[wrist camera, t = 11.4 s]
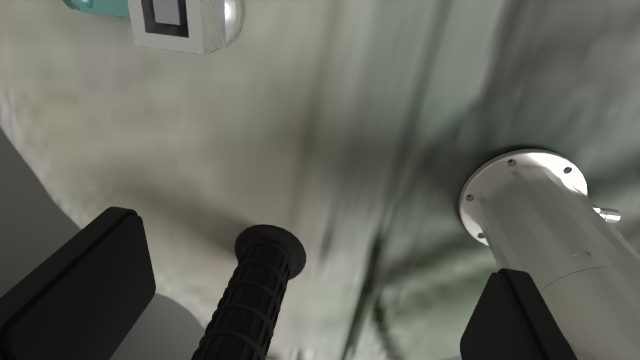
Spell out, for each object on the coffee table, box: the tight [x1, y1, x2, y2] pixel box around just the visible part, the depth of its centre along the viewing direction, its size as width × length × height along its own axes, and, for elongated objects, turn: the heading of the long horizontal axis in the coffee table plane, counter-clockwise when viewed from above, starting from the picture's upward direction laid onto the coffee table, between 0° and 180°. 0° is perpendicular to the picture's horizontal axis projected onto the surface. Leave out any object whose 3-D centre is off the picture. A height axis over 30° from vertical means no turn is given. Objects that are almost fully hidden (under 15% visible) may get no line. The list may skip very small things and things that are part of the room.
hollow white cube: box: [127, 0, 226, 54], centre depth 29 cm, size 6×6×5 cm
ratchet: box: [63, 0, 245, 54], centre depth 30 cm, size 16×8×7 cm, turn 85°
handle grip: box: [191, 225, 306, 360], centre depth 36 cm, size 10×26×10 cm
